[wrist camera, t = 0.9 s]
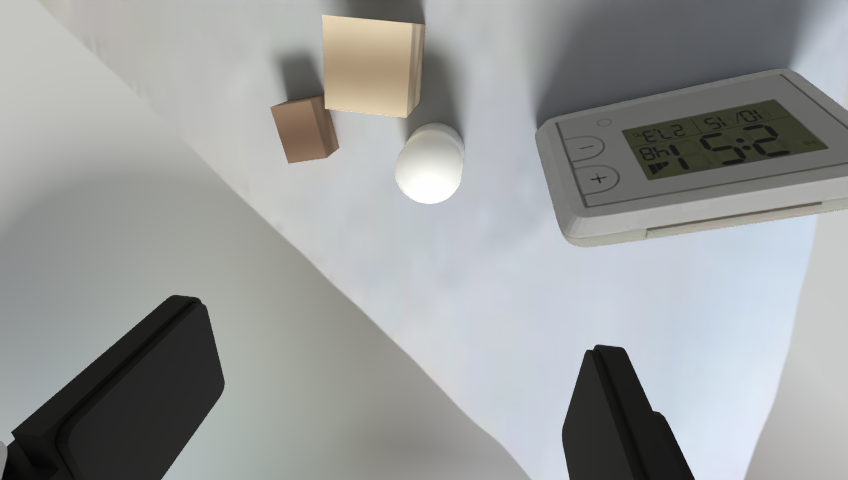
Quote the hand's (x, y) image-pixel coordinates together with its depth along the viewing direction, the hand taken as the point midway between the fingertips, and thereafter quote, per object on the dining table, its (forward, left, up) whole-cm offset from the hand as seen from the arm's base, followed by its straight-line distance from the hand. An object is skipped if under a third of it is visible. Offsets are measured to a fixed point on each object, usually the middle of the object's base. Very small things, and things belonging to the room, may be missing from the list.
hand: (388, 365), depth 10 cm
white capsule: (+1, -1, -23) cm, 23 cm away
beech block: (-5, -5, -23) cm, 24 cm away
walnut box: (0, -11, -23) cm, 26 cm away
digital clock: (-2, +14, -24) cm, 27 cm away
